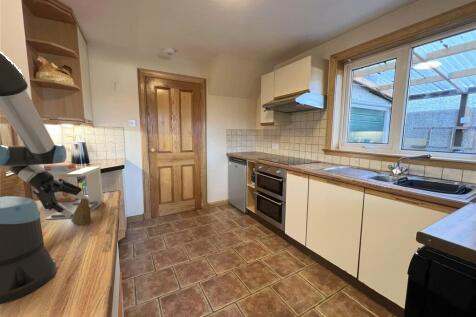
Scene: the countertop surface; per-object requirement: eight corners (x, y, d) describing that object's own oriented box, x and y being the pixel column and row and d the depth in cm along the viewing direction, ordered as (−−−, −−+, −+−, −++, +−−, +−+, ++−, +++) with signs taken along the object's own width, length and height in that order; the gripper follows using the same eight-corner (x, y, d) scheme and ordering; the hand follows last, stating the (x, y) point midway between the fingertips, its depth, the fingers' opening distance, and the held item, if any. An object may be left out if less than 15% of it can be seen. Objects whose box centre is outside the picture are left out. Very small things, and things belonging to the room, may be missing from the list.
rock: (97, 218, 88) (99, 207, 97) (80, 207, 84) (84, 196, 92) (75, 237, 86) (79, 224, 94) (56, 225, 82) (62, 213, 90)
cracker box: (80, 198, 120) (75, 163, 117) (71, 202, 114) (66, 165, 111) (58, 197, 122) (53, 162, 118) (48, 201, 116) (42, 164, 112)
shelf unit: (81, 217, 95) (75, 175, 91) (44, 219, 93) (38, 176, 90) (104, 201, 115) (100, 166, 112) (75, 202, 113) (70, 167, 110)
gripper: (53, 175, 98) (90, 204, 102) (1, 192, 73) (53, 228, 78) (64, 164, 98) (101, 193, 102) (15, 177, 73) (67, 215, 78)
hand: (80, 208), depth 90 cm, fingers open, 13 cm apart
